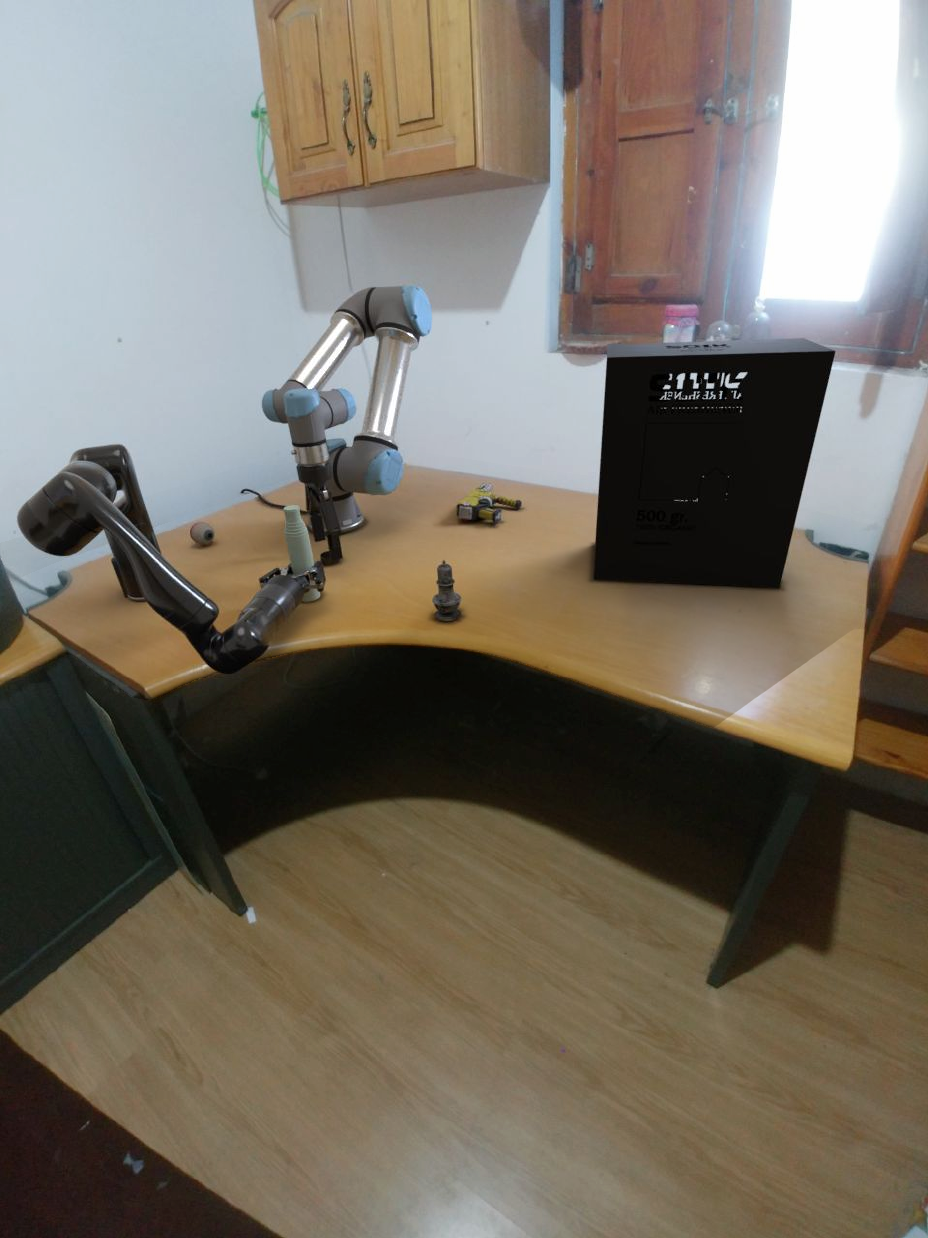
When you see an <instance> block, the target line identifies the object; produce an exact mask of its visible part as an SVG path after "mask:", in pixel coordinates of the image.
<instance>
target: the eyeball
mask: <svg viewBox="0 0 928 1238" xmlns="http://www.w3.org/2000/svg"><path fill="white" fill-rule="evenodd" d="M189 535H190V538H191V540H192V541H193V542H194V543H195V544H197V545H200V546H205V545H208V544H210V543H212V541H213V540H214V539H215V530H214V528H213V526H212V525H211V524H210V523H208V522H204V521H199V522H195V523H194V524H193V525H192V526H191V527H190V530H189Z"/></svg>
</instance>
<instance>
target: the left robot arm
mask: <svg viewBox="0 0 928 1238" xmlns="http://www.w3.org/2000/svg"><path fill="white" fill-rule="evenodd" d="M120 491H122V493H123V495H122V496H121V498H120V499H119V500H116V498H117V493H118V492H120ZM16 522H17V526H18V528H19V531H20V533H21V534H22V536H23V537H24V539H26V540H27V542H28V543H29V544H30V545H32V546H33V547H34V548H35V549H37V550H38V551H41V552H44V553H45V554H48V555H51V556H56V557H70V556H73V555H76V554H78V553H80V552H81V551H82V550H83V549H84V548H85V547H86V546H88V544H90V543H91V542H92V541H93V540H94V539H95V538H97V536H99V535H100V534H101V533H102V532H104V535H105V537H106V540H107V542H108V546H109V548H110V551H111V553H112V556H113V557H111V559H110V563H111V565H112V568H113V570H114V573H115V576H116V577H117V580H118V581H117V582H118V583H119V586H120V589H121V591H122V594H123V596H124V598H125V599H129V600H130V601H133V602H146V604H148V605H147V606H149V607H150V609H152V610H153V611H154V612H155V613H156V614H157V615H158V616H160V617H161V618H162V619H163V620H165V621H166V622H167V623H169V624H170V625H171V626H173V627H174V628H175V629H176V630H177V631H179V632H180V633H182V635H184V637H185V638H186V639H187V641H188V642H189V644H190V645H191V646H192V648H193V649H194V650H195V652H196V653H197V654H198V655H199V657H200V658H201V659H202V661H203V662H204V663H205V664H206V665H207V666H208V667H209V668H210V669H211V670H213V671H215V672H217V673H220V674H222V675H233V674H235V673H238V672H239V671H241V670H242V669H244V668H246V667H247V666H249V665H250V664H252V663H253V662H255V661H257V660H258V659H260V657H262V656H263V655H264V654H265V653H266V651H267V650H268V649H269V647H270V645H271V643H272V640H273V638H274V635H275V634H276V632H278V630H279V629H280V627H281V626H282V625H283V624H284V623H286V622H287V621H288V619H289V618H290V617H291V616H292V614H293V613H294V612H295V611H296V609H298V607H299V606H300V604H301V603H302V599H303V596H304V594H305V593H307V592H309V591H310V589H317V590H318V592H320V593H322V592H324V590H325V586H326V582H327V577H326V573H325V569H324V568H325V567H324V565H323V563H321V560H317V561H316V562H314V566H313V567H312V568H311V569H309V570H304V571H302V572H300V573H299V574H295V575H293V572H292V567H291V562H289V563H288V565H287V566H284V567H282V569H280V568H279V567H275V568H273V569H272V570H270V571H269V572H267V573H265V574H264V575H262V576H260V577H259V578H258V582H259V587H260V589H259V590H258V591H257V592H256V593H255V594H254V596H253V597H252V599H251V600H250V602H248V603H247V605H246V606H245V607H244V608H243V609H242V610H241V611H240V613H239V615H238V617H237V619H236V621H235V622H234V623H233V624H232V625H231V626H229V627H227V628H226V629H225V630H223V631H222V632H220V631H219V630H218V628H217V627H216V626H215V624H214V623H215V621H216V620H217V619H218V617H219V614H220V608H219V606H218V605H217V604H216V602H215V601H213V600H212V599H211V598H210V597H209V596H207V595H206V594H205V593H204V592H203V591H202V590H200V589H199V587H197V586H196V585H194V584H193V583H192V582H191V581H190V580H188V579H187V578H186V577H185V576H184V575H183V574H181V573H180V572H179V571H178V570H177V569H176V568H175V567H174V566H173V565H172V564H171V563H170V562H169V561H168V560H167V559H166V558H165V557H164V556H163V554H162V550H161V549H160V545H159V543H158V540H157V537H156V533H155V530H154V527H153V524H152V521H151V518H150V515H149V512H148V510H147V506H146V503H145V500H144V496H143V494H142V491H141V487H140V484H139V479H138V477H137V472H136V468H135V465H134V461H133V459H132V455H131V454H130V451H129V449H128V448H127V447H126V446H125V445H123V444H121V443H112V444H104V445H98V446H97V445H96V446H89V447H83V448H79V449H77V450H75V451H74V452H72V454H71V457H70V458H69V462H68V464H67V465H66V466H64V467H63V468H62V469H61V470H60V471H58V472H57V474H55V475H54V476H53V477H52V478H51V479H49V481H47V482H46V483H45V484H44V485H43V486H42V487H41V488H40V489H39V490H37V492H36V493H34V495H32V496H31V497H30V498H29V499H28V500H26V501H25V502H24V503H23V504H22V505H21V507H20V509H19V510H18V511H17V515H16ZM311 574H312V576H313V577H311Z"/></svg>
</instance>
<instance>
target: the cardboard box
mask: <svg viewBox="0 0 928 1238" xmlns="http://www.w3.org/2000/svg"><path fill="white" fill-rule="evenodd" d="M835 356H836V350H834V349H831V348H829V347H827V346H824V345H821V344H819V343H816V342H814V341H812V340H810V339H806V338H804V337H799V338H798V337H797V338H796V337H795V338H794V337H793V338H767V339H766V338H765V339H737V340H736V339H735V340H732V339H731V340H707V341H705V340H703V341H675V342H672V341H671V342H670V341H669V342H648V343H647V342H646V343H645V342H644V343H643V342H642V343H639V342H638V343H613V344H612V343H611V344H609V343H607V349H606V363H605V364H606V365H605V367H606V368H605V381H604V396H603V411H602V412H603V413H602V429H601V444H600V445H601V446H600V461H599V477H598V479H599V480H598V494H597V507H596V508H597V509H596V511H597V512H596V523H595V524H596V525H595V538H594V539H595V540H594V559H593V561H594V562H593V579H592V580H595V581H612V582H613V581H616V582H617V581H618V582H636V583H638V582H639V583H660V584H661V583H662V584H680V585H681V584H682V585H683V584H684V585H706V586H726V587H727V586H729V587H748V588H749V587H750V588H751V587H752V588H770V589H771V588H772V589H780V588H781V583H782V579H783V575H784V571H785V567H786V562H787V558H788V554H789V550H790V545H791V542H792V539H793V538H792V537H793V533H794V529H795V524H796V521H797V516H798V512H799V507H800V505H801V504H800V503H801V499H802V495H803V491H804V488H805V487H804V486H805V483H806V478H807V475H808V474H807V473H808V469H809V465H810V461H811V457H812V452H813V450H814V449H813V448H814V444H815V441H816V437H817V431H818V428H819V423H820V420H821V415H822V410H823V407H824V402H825V398H826V393H827V389H828V385H829V381H830V377H831V372H832V368H833V365H834V360H835ZM741 373H746V374H745V375H744V377H741V378H738V376H739V374H741ZM682 374H684V378H683V381H682V385H681V386H682V388H678V385H679V384H678V383H679V379H678V377H679V376H680V375H682ZM692 374H696V378H695V379H694V378H691V376H692ZM706 374H707V378H705V375H706ZM723 375H724V376H723ZM727 377H729V378H728V381H727V382H728V385H729V384H731V385H732V384H738V385H737V387H727V385H726V379H727ZM722 379H723V380H722ZM694 384H696V385H697V384H698V387H695V388H694ZM708 384H713V388H712V387H711V388H710V387H709V388H708ZM666 386H668V387H669V388H665V387H666Z"/></svg>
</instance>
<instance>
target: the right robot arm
mask: <svg viewBox="0 0 928 1238" xmlns="http://www.w3.org/2000/svg"><path fill="white" fill-rule="evenodd" d="M432 325H433V313H432V308H431V303H430V300H429V298H428V296H427V293H426V292H425V291H424V289H423V288H422V287H420V286H418V285H407V284H403V285H395V286H371V287H370V286H369V287H367V288H366V287H365V288H363V289H361V290H359V291H357V292H355V293H354V294H352V295H351V296H349V298H347V299H346V300H345V301H344V302H343V303H342V304H341V305H340V306H339V307H338V308H337V309H335V311H334V312H333V314H332V315H331V317H330V320H329V326H328V327H327V328H326V329H325V331H324V332H323V334H322V335H321V336H320V337H319V339H318V340H317V341H316V343H315V344H314V345H313V347H311V349H310V350H309V351H308V352H307V354H306V355H305V357H304V358H303V359H302V361H301V362H300V363H299V364H298V366H296V368H295V370H294V371H293V372H292V374H291V375H289V377H288V379H287V380H286V381H285V383H283V385H281V387H280V388H279V389H278V388H273V389H268V390H267V391H265V393H263V396H262V398H261V409H262V412H263V414H264V416H265V418H267V419H268V420H269V421H271V422H273V423H279V424H283V425H284V424H285V425H286V424H287V426H288V429H289V435H290V439H291V446H292V449H293V450H291V451H290V454H291V455H292V456H293V457H294V460H295V463H296V467H295V468H296V472H297V478H298V481H299V482H300V483H302V484H304V495H305V510H303V509H299V510H300V514H304V515H308V521H307V522H308V523H307V524H308V528H309V529H308V530H310V531H311V532H312V535H313V540H314V543H319V542H323V541H326V542H327V546H328V551H329V552H330V558H331V561H334V560H338V559H339V560H342V559H344V556H343V551H342V544H341V538H340V535H341V534H345V533H350V532H353V531H355V530H357V529H359V528H361V527H362V526H363V525H364V523H365V519H364V514H363V512H362V510H361V508H360V505H359V504H358V501H357V500H356V498H355V495H354V493H357V494H364V495H370V496H377V495H378V496H387V495H390V494H392V493H393V492H394V491H396V489H397V488H398V486H399V485H400V483H401V481H402V478H403V475H404V465H403V463H404V459H403V456H402V454H401V453H400V452H399V446H398V444H397V442H396V441H395V436H396V431H397V427H398V420H399V415H400V411H401V406H402V402H403V401H402V400H403V396H404V390H405V385H406V380H407V375H408V370H409V366H410V360H411V355H412V352H414V351H415V350H417V349H418V348H419V344H420V339H421V337H425V336H428V335H429V334H430V332H431V330H432ZM373 337H374V338H375V339H376V341H377V342H378V345H377V349H376V356H375V360H374V365H373V371H372V375H371V380H370V386H369V391H368V395H367V401H366V406H365V411H364V416H363V421H362V426H361V431H360V432H359V433H357V434H355V435H354V436H353V440H352V446H347V444H348V443H347V441H346V440H345V439H344V438H341V437H340V438H339V437H337V438H330V439H327V437H326V430H329V429H332V428H334V427H336V426H340V425H344V424H346V423H347V422H349V421H351V420H352V419H353V418H354V417H355V416H356V413H357V404H356V403H357V402H356V399H355V397H354V396H353V394H352V393H351V392H350V391H349V390H348V389H346V388H342V387H340V388H332V389H331V390H323V389H324V388H325V387H326V385H327V383H328V382H329V381H330V380H331V378H332V377H333V375H334V374H335V373H336V372H337V370H338V368H340V366H341V365H342V363H343V362H344V360H345V359H346V358H347V357H348V355H349V354H350V352H351V351H352V349H353V348H354V347H358V346H360V345H361V344H363V342H364V340H366V339H368V338H373ZM244 492H249V493H251V494H254V495H256V496H257V497H258V498H259V500H261V501H262V502H263V503H265V504H266V505H268V506H270V507H274V508H280V509H284V507H286V506H287V505H284V504H283V505H282V504H277V503H273V502H270V501H268V500H266V499H265V498H263V497H262V495H261V494H260V493H259V492H258V491H255V490H253V489H250V488H243V489H242V490H240V494H244Z"/></svg>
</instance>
